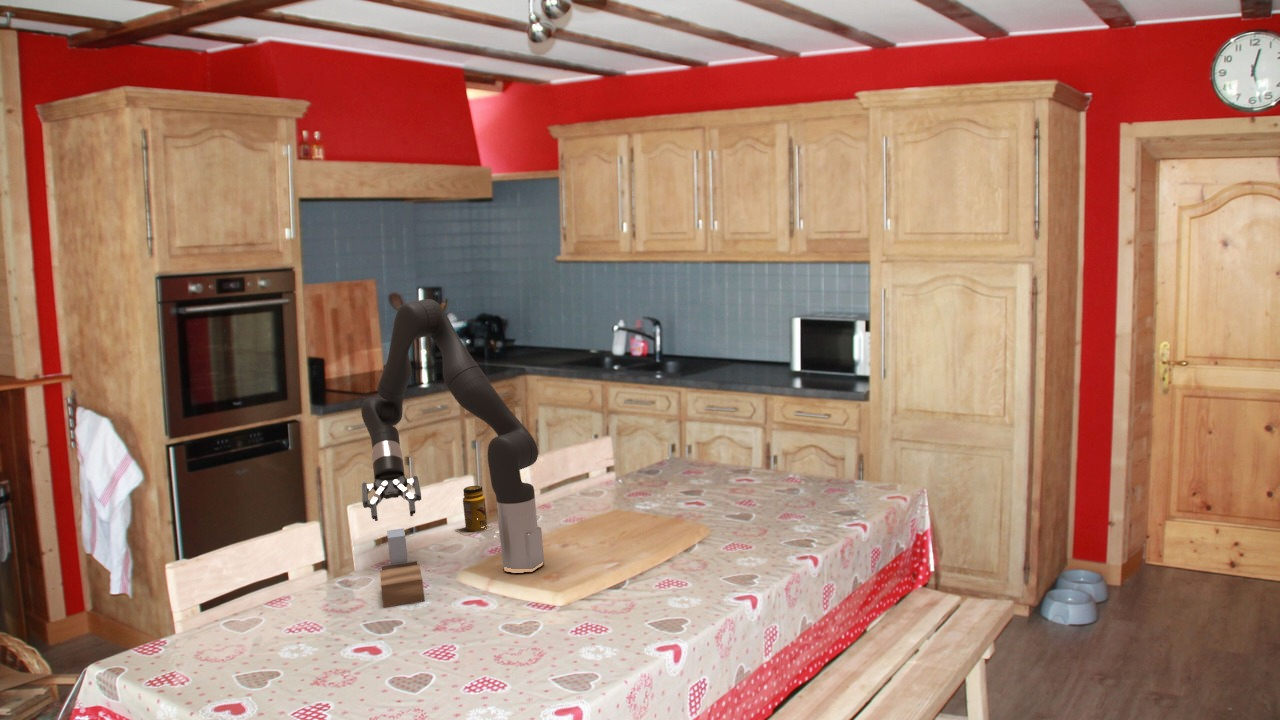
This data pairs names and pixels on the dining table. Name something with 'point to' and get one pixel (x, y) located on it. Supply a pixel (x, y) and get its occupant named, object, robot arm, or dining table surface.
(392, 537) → the tall grey pillar
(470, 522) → the condiment
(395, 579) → the wooden grain block
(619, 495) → the dining table surface
